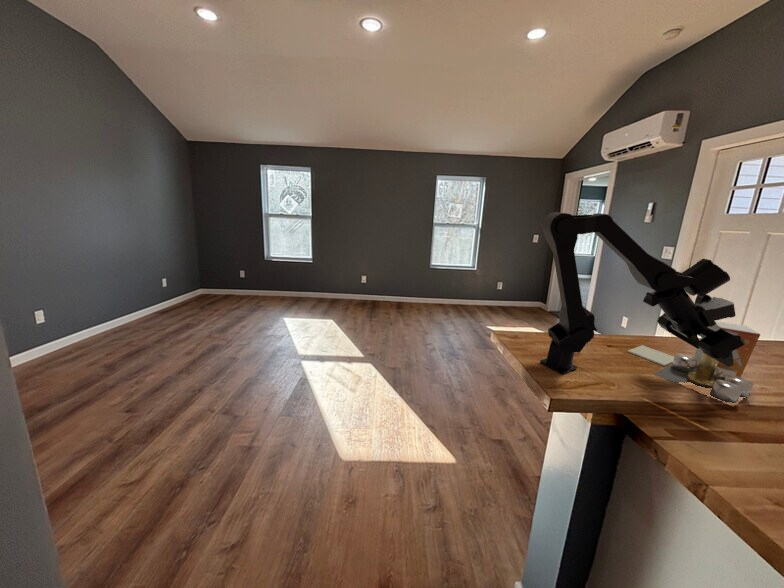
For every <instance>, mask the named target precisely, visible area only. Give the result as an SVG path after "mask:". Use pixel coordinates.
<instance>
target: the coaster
mask: <svg viewBox="0 0 784 588" xmlns="http://www.w3.org/2000/svg"><path fill="white" fill-rule="evenodd" d="M627 353H629V354H632V355H634V356H637V357H639V358H641V359H644V360H647V361H650V362H652V363H655V364H656V365H660V366H662V367H667V366H670V365H672V362H673V360H674V357H675V356H674V355H670V354H667V353H665V352H662V351H659V350H656V349H653V348H651V347H649V346H646V345H643V344H641V345H639V346H636V347H634V348H631V349H629V350H627Z"/></svg>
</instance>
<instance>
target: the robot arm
mask: <svg viewBox="0 0 784 588" xmlns="http://www.w3.org/2000/svg"><path fill="white" fill-rule="evenodd" d="M541 229H542V233H543V235H544V238H545V240H546V243H547V245H548V246H549V248H550V250H551V252H552V254H553V255H552V256H553V262H554V267H555V272H556V278H557V280H556V281H557V285H558V290H559V296H560V302H561V309H560V311H559V316H558V319H559V320H558V323H556V324H554V325H552V326H551V327H549V328H548V329H547V333H548V337H549V338H550V339H551V341H550V344H549V348H548V351H547V352H548V353H547V356H546V358H543V359H541V360H539V363H541V364H543V365H544V366H546V367H547V368H550V369H552V370H553V371H556V372H557V371H558V372H557V373H559V372H560V374H561V373H564V374H566V373H565V372H567V373H569V372H568V371H570V372H572V371H571V370H573V371H575V370H577V368H578V366H576V365H574V364H573V361H574V356H575V354H576V353H581V352H582V351H583V349H584V348H585V346H587V344H588V343H589V342H591V340H593V339H594V337H595V332H596V331H598V329H597V327H596V326H595V314H594V313H592V312H591V311H589V310H588V309H587V308H586V307H584V306H583V299H582V293H581V286H580V281H579V273H578V267H577V259H576V254H575V249H576V245H577V242H578V237H579V235H586V234H593V233H594V234H595V235H596V236H597V237H598V238H600V240H601V241H602V242H604V244H605V245H607V246H608V248H610V249H611V251H613V252H614V253H615V254H616V255H617V256H619V257H620V259H621V260H623V262H624V263H625V264H626V265H627V266H628V269H629V271H630V274H631V275H632V277H633V278H634V280H635V281H636V282H637V283H638V284H639V285H641V286H644V287H645V288H649V289H650V290H653V291H652V292H649V291H647V292H646V294H645V297H644V298H643V300H642V301H643V303H645V304H646V305H648V306H650V307H655V306H657V305H658V306H659V307H660V309H661V310H662V312H663V314H661V316H658V318H657V320H656V321H657V323H658V325H659V327H660V328H662V329H663V330H665V331H667V332H668V333H669V334H671V335H674V337H676V338H678V339H680V340H682V341H684V342H685V343H687V344H688V345H690V346H691V347H693V348H695V349H699V348H700V349H701V350H702V351H703V353H705V354H707V355H708V356H710V357H712V358H714V359H715V360H717V361H719V362H721V363H722V364H724V365H726V366H728V367H730V366H732V365H734V362H733V351H734V350H736V349H737V348H739V347H741V346H743V345H745V342H744V340H743V339H742V337H741V336H740V335H738V334H735V333H733V332H731V331H729V330H726V329H719V330H717V331H714V330H712V329H709V328H708V327H709V326H710V327H712V326H714V325H716V322H715V321H721V320H724V319H728V318H731V319H732V318H734V317H736V308H735V303H734V302H733V301H730V300H727V299H724V298H722V297H716V296H713V297H711V296H710V295H709V294H710V293H711V292H713V291H715V290H716V289H718V288H720V287H721V286H723V285H725V284H726V283H728V282H730V281H731V277H730V275H729V274H728V272H727V271H725V270H724V269H723V268H721V267H720V266H719V265H716V263H714V262H713V261H712V260H711V259H708V258H702V259H700V260H698V261H697V262H696V263H695V264H693V265H692V266H690V267H689V268H687V269H686V270H683V271H682V272H681V271H677V270H676V269H675V268H673V267H671V266H670V265H668V264H667V263H665V262H664V261H661V260H660V259H658V258H657V257H655V256H653V255H651V254H649V253H648V252H647V251H646V250H644V248H643V247H641V246H640V245H639V244H638V243H637V242H636V241H635V240H634V239H633V238H632V237H631V236H630V235H629V233H627V232H626V231H625V230H623V228H622V227H621V226H619V225H618V224H617V223H616V222H615V221H614V219H613V217H612V216H611V215H610V214H606V213H599V212H597V213H593V214H578V215H577V214H575V215H574V214H571V213H566V212H558V211H554V212H550V213H548V214H547V215H546V216H545V217H544V218H543V220H542V222H541ZM690 296H694V297H695V296H696V298H695V301H693V299H692V298H691V297H690ZM699 337H700V338H699ZM701 337H703V339H701ZM700 339H701V340H700ZM574 369H575V370H574Z"/></svg>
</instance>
